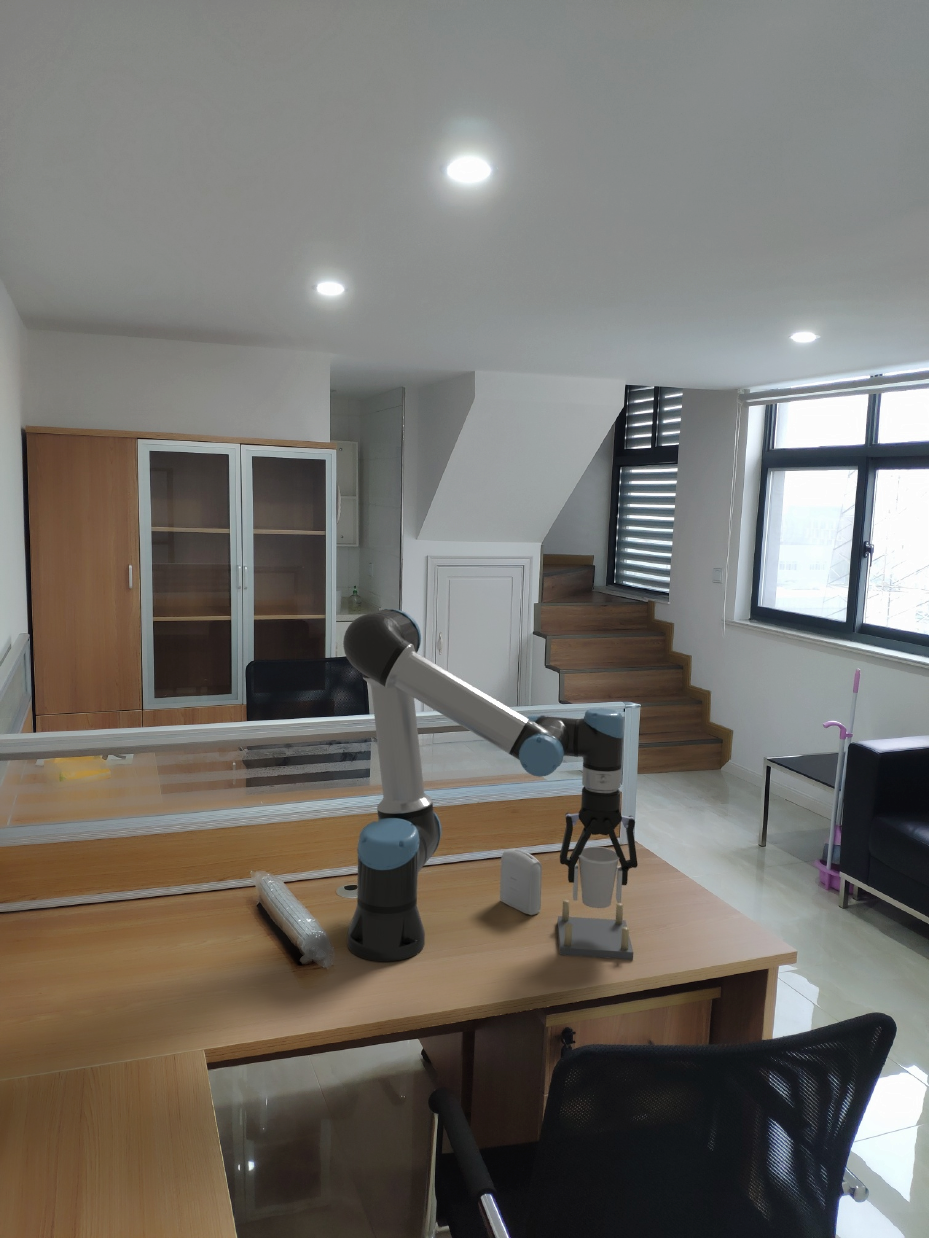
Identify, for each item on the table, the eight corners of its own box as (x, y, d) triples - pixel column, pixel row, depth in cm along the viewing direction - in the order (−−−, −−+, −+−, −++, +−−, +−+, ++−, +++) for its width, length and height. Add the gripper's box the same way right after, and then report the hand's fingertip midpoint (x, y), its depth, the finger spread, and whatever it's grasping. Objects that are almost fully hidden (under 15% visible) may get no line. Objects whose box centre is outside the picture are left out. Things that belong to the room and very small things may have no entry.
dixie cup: (620, 911, 172) (623, 862, 171) (578, 910, 172) (580, 861, 171) (614, 894, 180) (616, 846, 179) (573, 892, 180) (575, 845, 179)
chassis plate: (559, 954, 170) (561, 927, 170) (557, 922, 184) (558, 897, 184) (632, 959, 169) (634, 932, 169) (625, 927, 183) (626, 901, 183)
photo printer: (496, 900, 194) (498, 846, 193) (511, 896, 197) (513, 842, 196) (528, 917, 186) (531, 861, 185) (543, 912, 189) (545, 856, 188)
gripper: (548, 790, 171) (544, 903, 173) (657, 795, 169) (651, 909, 171) (548, 780, 178) (544, 888, 180) (651, 784, 177) (646, 893, 179)
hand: (596, 898), depth 176 cm, fingers closed on dixie cup, 8 cm apart
